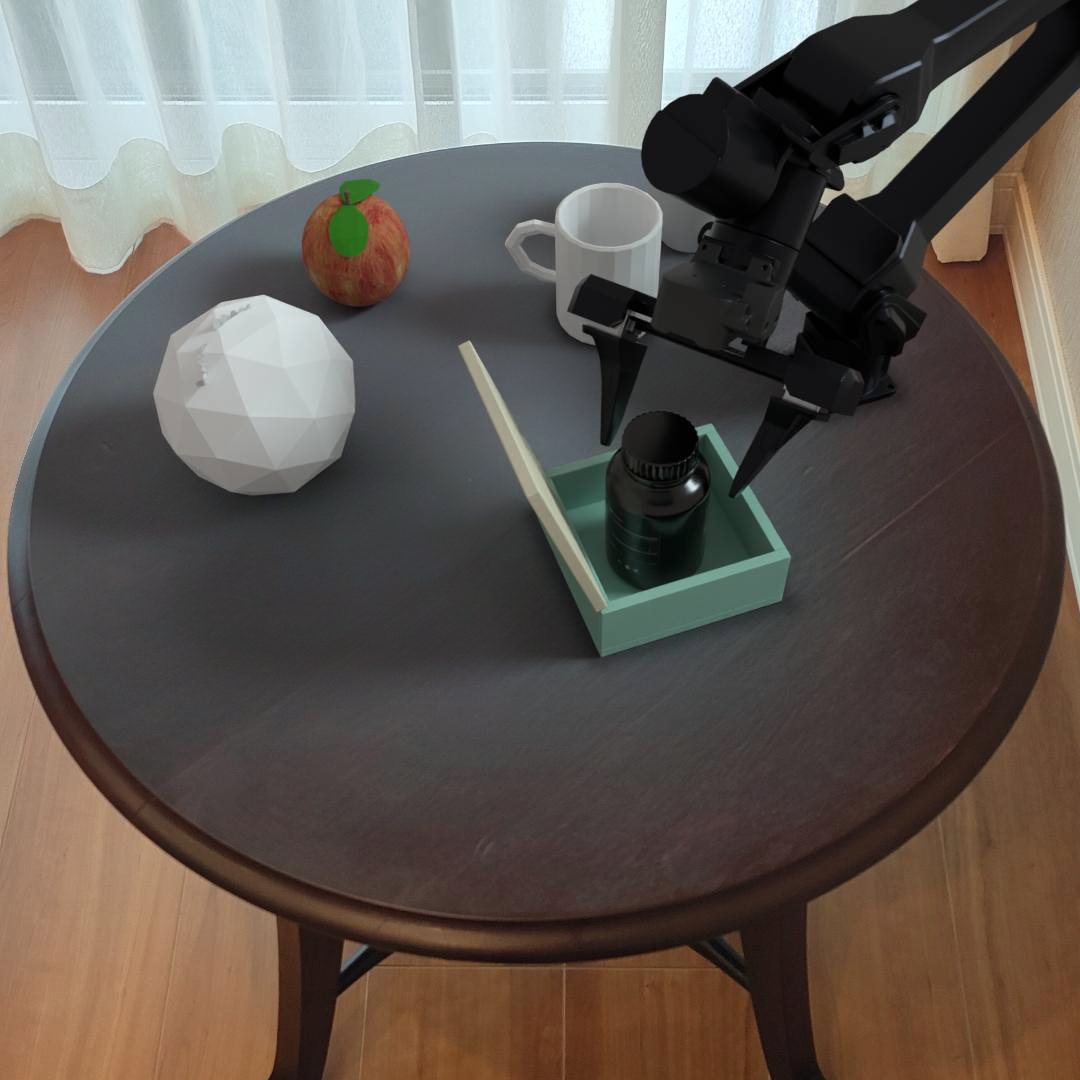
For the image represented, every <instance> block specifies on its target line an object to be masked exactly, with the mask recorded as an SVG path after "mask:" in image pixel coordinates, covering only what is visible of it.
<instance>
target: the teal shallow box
mask: <svg viewBox="0 0 1080 1080" xmlns="http://www.w3.org/2000/svg"><path fill="white" fill-rule="evenodd" d="M695 429H696V430H697V432H698V436H699V451H700V452H701V453H702V454H703V456H704V457H705V459H706V460H707V462H708V464H709V467H710V470H711V494H710V504H709V514H708V523H707V533H706V543H705V551H704V557H703V560H702V563H701V565H700V567H699V569H698V570H697V572H696V573H695V574H694V575H693V576H691V577H688V578H685V579H682V580H678V581H675V582H672V583H668V584H665V585H662V586H658V587H655V588H652V589H649V590H646V589H642V588H638V587H635V586H633V585H630V584H629V583H627V582H625V581H624V580H622V579H621V578H620V577H619V576H618V575H617V574H616V573H615V572H614V571H613V569H612V568H611V566H610V564H609V562H608V560H607V556H606V550H605V478H606V470H607V466H608V464H609V461H610V459H611V458H612V456H613V455H614V454H615V452H616V451H617V450H618V449H615V450H610V451H608V452H603V453H599V454H597V455H592V456H590V457H585V458H582V459H579V460H575V461H572V462H568V463H565V464H561V465H558V466H554V467H549V468H547V469H543V471H544V473H545V475H546V477H547V479H548V482H549V484H550V486H551V488H552V490H553V492H554V494H555V496H556V499H557V501H558V503H559V505H560V507H561V509H562V511H563V513H564V516H565V518H566V520H567V522H568V524H569V526H570V528H571V530H572V533H573V535H574V537H575V539H576V541H577V543H578V545H579V547H580V550H581V552H582V554H583V556H584V558H585V560H586V562H587V564H588V566H589V569H590V571H591V573H592V575H593V577H594V579H595V581H596V583H597V586H598V588H599V590H600V592H601V594H602V596H603V598H604V600H605V603H606V605H607V607H606V608H604V609H602V610H600V611H598V612H596V611H595V610H594V608H593V606H592V605H591V603H590V601H589V600H588V598H587V597H586V595H585V593H584V592H583V590H582V588H581V587H580V585H579V583H578V582H577V580H576V578H575V577H574V575H573V574H572V572H571V570H570V569H569V567H568V565H567V564H566V562H565V560H564V559H563V557H562V555H561V554H560V552H559V551H558V549H557V547H556V546H555V544H554V542H553V541H552V539H551V537H550V536H549V534H548V532H547V531H546V529H545V528H544V526H543V524H542V523H541V521H540V519H539V518H538V517H537V520H538V522H539V524H540V527H541V529H542V531H543V533H544V536H545V538H546V540H547V542H548V544H549V546H550V548H551V551H552V553H553V555H554V557H555V560H556V562H557V565H558V566H559V568H560V571H561V573H562V574H563V577H564V579H565V582H566V584H567V586H568V589H569V590H570V592H571V595H572V597H573V599H574V601H575V604H576V606H577V608H578V610H579V612H580V614H581V617H582V619H583V622H584V623H585V626H586V628H587V629H588V632H589V634H590V636H591V639H592V642H593V643H594V645H595V648H596V650H597V652H598V655H599V656H600V658H603V657H607V656H611V655H613V654H617V653H620V652H623V651H626V650H630V649H632V648H635V647H638V646H642V645H645V644H648V643H652V642H655V641H658V640H661V639H664V638H667V637H671V636H675V635H677V634H680V633H683V632H686V631H690V630H694V629H696V628H700V627H703V626H706V625H710V624H712V623H716V622H718V621H719V622H720V621H722V620H725V619H728V618H731V617H736V616H738V615H741V614H744V613H748V612H751V611H755V610H757V609H760V608H763V607H767V606H771V605H773V604H776V603H780V602H782V601H783V596H784V592H785V587H786V584H787V583H786V582H787V578H788V573H789V568H790V563H791V559H792V555H791V554H790V552H789V551H788V549H787V548H786V545H785V544H784V542H783V540H782V539H781V537H780V535H779V534H778V532H777V530H776V529H775V527H774V525H773V523H772V522H771V520H770V519H769V517H768V515H767V514H766V511H765V510H764V508H763V507H762V505H761V503H760V502H759V500H758V498H757V496H756V495H755V493H754V492H753V490H752V488H751V487H750V484H749V485H748V486H747V487H746V488H745V490H744V491H743V492H742V493H741V494H740V495H739V496H738V497H737V498H736V499H732V498H730V497H729V496H728V495H729V492H730V489H731V486H732V483H733V480H734V477H735V475H736V473H737V471H738V469H739V466H738V464H737V463H736V462H735V460H734V458H733V455H731V453H730V451H729V449H728V448H727V446H726V444H725V443H724V441H723V439H722V438H721V436H720V434H719V432H718V431H717V430H716V428H715V426H714V425H713V424H712V423H706V424H704V425H700V426H696V427H695Z"/></svg>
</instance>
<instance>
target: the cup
mask: <svg viewBox="0 0 1080 1080" xmlns="http://www.w3.org/2000/svg"><path fill="white" fill-rule="evenodd" d="M650 122H651V120H650V121H649V122H648V125H647V127H646V129H647V128H648V126H649V124H650ZM647 184H648V190H649V195H650V196H651V197H652V198H653V199H654V200H655V201H656V202H658V204H659V206H660V209H661V211H662V213H663V216H662V236H661V242H663V243H664V244H665V245H666V246H667V247H668V248H671V249H672V250H673V251H678V252H681V253H689V254H690V253H691V254H692V253H696V251H697V249H698V246H699V244H700V242H702V239H703V236H704V235H707V236H709V234H710V231H711V228H712V226H713V223H714V220H715V218H716V217H713V216H711V215H709V214H707V213H705V212H703V211H701V210H699V209H697V208H695V207H693V206H691V205H688V204H686V203H684V202H682V201H680V200H678V199H676V198H674V197H672V196H670V195H668V194H666V193H664V192H662V191H660V190H658V189H656V188H655V187H653V186H652V185H651V184H650V182H649V181H648V180H647Z"/></svg>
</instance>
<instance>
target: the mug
mask: <svg viewBox="0 0 1080 1080" xmlns="http://www.w3.org/2000/svg"><path fill="white" fill-rule="evenodd" d="M662 216H663V213H662V211H661V209H660V206H659V204H658V202H656V201H655V200H654V199H653V198H652V197H651V196H650V193H648V192H646V191H644V190H641V189H640V188H637V187H635V186H632V185H628V184H624V183H619V182H599V183H594V184H588V185H585V186H582V187H581V188H578V189H576V190H573V191H572V192H571V193H569V194H568V195H566V196H565V197H564V198H563V199H561V201H560V203H559V204H558V206H557V207H556V209H555V217H554V223H552V222H548V221H544V220H539V219H536V218H534V219H530V220H526V221H523V222H519V223H517V224H516V225H515V226H514V228H513V229H512V231H511V232H510V234H509V235H508V237H507V238H506V239H505V241H504V242H505V243H504V246H505V248H506V249H507V251H508V252H509V254H510V255H511V257H512V259H513V260H514V262H515V263H516V266H517V267H518V268H519V269H520V271H521V272H523V273H524V274H527V275H529V276H532V277H533V278H536V279H538V280H540V281H543V282H547V283H553V284H555V302H556V303H555V305H556V307H555V308H556V316H557V319H558V322H559V325H560V326H561V327H562V328H563V330H564V331H565V332H566V333H567V334H568V335H569V336H571V337H572V338H574V339H576V340H578V341H579V342H581V343H584V344H588V345H591V346H595V347H596V345H595V342H594V339H593V338H592V336H590V335H588V334H585V333H583V332H582V325H583V324H584V325H588V322H589V320H588V319H585V318H583V317H580V316H577V315H575V314H572V313H570V312H567V309H568V307H569V304H570V301H571V298H572V296H573V293H574V290H575V287H576V286H577V285H578V284H579V282H580V281H581V280H582V279H584V278H585V277H587V276H588V275H590V274H593V275H595V276H598V277H601V278H604V279H606V280H609V281H612V282H615V283H617V284H620V285H623V286H626V287H628V288H631V289H634V290H637V291H639V292H642V293H644V294H647V295H650V296H652V297H655V298H657V295H658V291H659V281H660V267H661V266H660V265H661V264H660V262H661V249H662V239H661V236H662ZM540 234H542V235H546V236H550V237H554V239H555V241H554V243H555V244H554V245H555V248H554V249H555V270H554V269H550V268H546V267H544V266H541V265H540V264H538V263H535V262H533V261H531V259H530V257H529V256H528V255H527V253H526V252H525V250H524V248H523V247H522V245H521V244H522V243H523V241H524V240H525V239H526V237H531V236H535V235H540ZM645 334H647V333H646V332H642V333H641V335H639V336H638V338H637V340H638V339H641V338H642V337H643V336H644V335H645Z"/></svg>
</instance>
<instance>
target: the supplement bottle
mask: <svg viewBox="0 0 1080 1080" xmlns="http://www.w3.org/2000/svg"><path fill="white" fill-rule="evenodd" d="M695 428H696V427H695V425H694V424H693V423H692V422H691V420H690V419H687V417H685V416H682V415H681V414H680V413H675V412H674V411H667V410H658V409H657V410H649V411H648V412H643V413H641V414H638V415H636V416H635V417H634V418H632V419H631V420H630V422H628V423H627V424H626V426H625V428H623V433H622V435H621V446H620V447H619V448H618V449H616V450H617V451H616V452H615V454H614V455H613V456H612V458H611V459H610V461H609V464H608V466H607V470H606V478H605V550H606V556H607V560H608V562H609V564H610V566H611V568H612V569H613V571H614V572H615V573H616V574H617V575H618V576H619V577H620V578H621V579H622V580H624V581H625V582H627V583H629V584H630V585H633V586H635V587H638V588H642V589H646V590H649V589H652V588H655V587H658V586H662V585H665V584H668V583H672V582H675V581H678V580H682V579H685V578H688V577H691V576H693V575H694V574H695V573H696V572H697V570H698V569H699V567H700V565H701V563H702V560H703V557H704V551H705V543H706V533H707V523H708V514H709V504H710V494H711V470H710V467H709V464H708V462H707V460H706V459H705V457H704V456H703V454H702V453H701V452H700V451H699V436H698V432H697V430H696V429H695Z"/></svg>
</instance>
